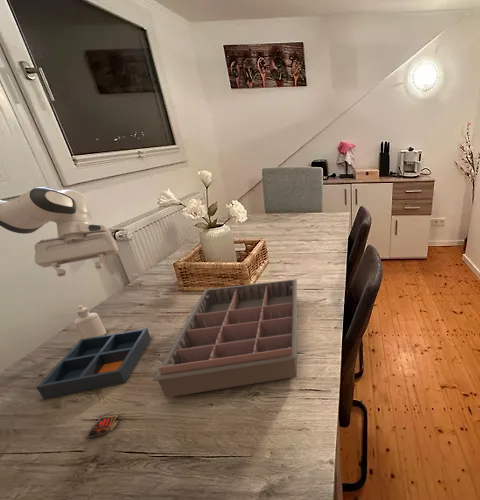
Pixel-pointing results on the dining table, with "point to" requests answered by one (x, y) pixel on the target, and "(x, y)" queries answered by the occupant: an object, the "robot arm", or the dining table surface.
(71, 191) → the robot arm
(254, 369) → the organizer tray
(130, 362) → the grid
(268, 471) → the dining table surface
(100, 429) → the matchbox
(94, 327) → the eye dropper bottle
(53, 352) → the dining table surface
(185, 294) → the dining table surface
